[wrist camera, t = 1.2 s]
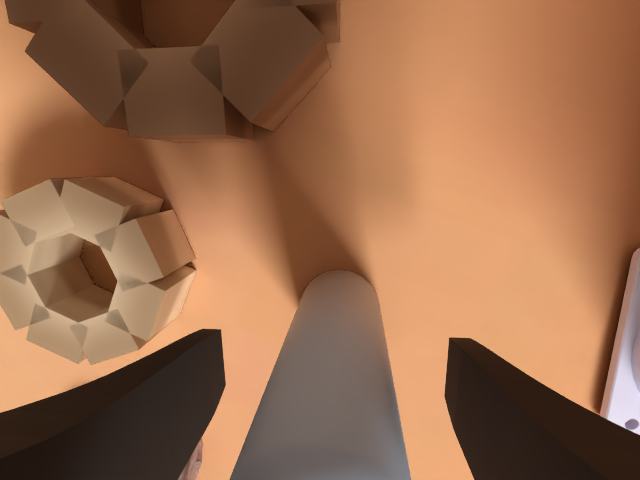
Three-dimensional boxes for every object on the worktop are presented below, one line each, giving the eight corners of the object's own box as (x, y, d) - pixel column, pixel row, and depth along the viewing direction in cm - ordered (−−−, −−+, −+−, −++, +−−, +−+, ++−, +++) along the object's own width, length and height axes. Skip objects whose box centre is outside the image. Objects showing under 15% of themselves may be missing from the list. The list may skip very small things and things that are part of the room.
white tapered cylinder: (380, 270, 14) (426, 453, 5) (378, 344, 15) (414, 612, 6) (300, 269, 14) (213, 437, 5) (302, 341, 15) (228, 591, 6)
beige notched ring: (148, 156, 14) (104, 154, 11) (217, 305, 15) (190, 333, 12) (17, 213, 15) (-48, 222, 12) (91, 347, 16) (44, 379, 14)
